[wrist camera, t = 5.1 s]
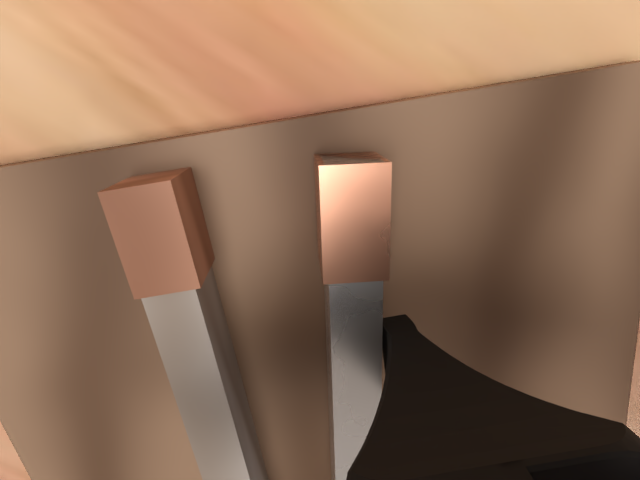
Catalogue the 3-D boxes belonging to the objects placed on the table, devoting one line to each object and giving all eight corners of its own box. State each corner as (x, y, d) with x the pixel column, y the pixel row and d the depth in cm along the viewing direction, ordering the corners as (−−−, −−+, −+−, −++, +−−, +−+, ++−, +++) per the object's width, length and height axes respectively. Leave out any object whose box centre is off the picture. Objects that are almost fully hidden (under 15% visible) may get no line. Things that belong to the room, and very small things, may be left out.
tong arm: (372, 512, 16) (383, 571, 14) (328, 516, 16) (334, 576, 14) (374, 151, 11) (391, 162, 9) (313, 154, 11) (318, 165, 9)
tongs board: (629, 61, 13) (819, 39, 8) (589, 484, 19) (686, 607, 14) (-76, 177, 12) (-289, 223, 8) (114, 568, 18) (56, 722, 14)
